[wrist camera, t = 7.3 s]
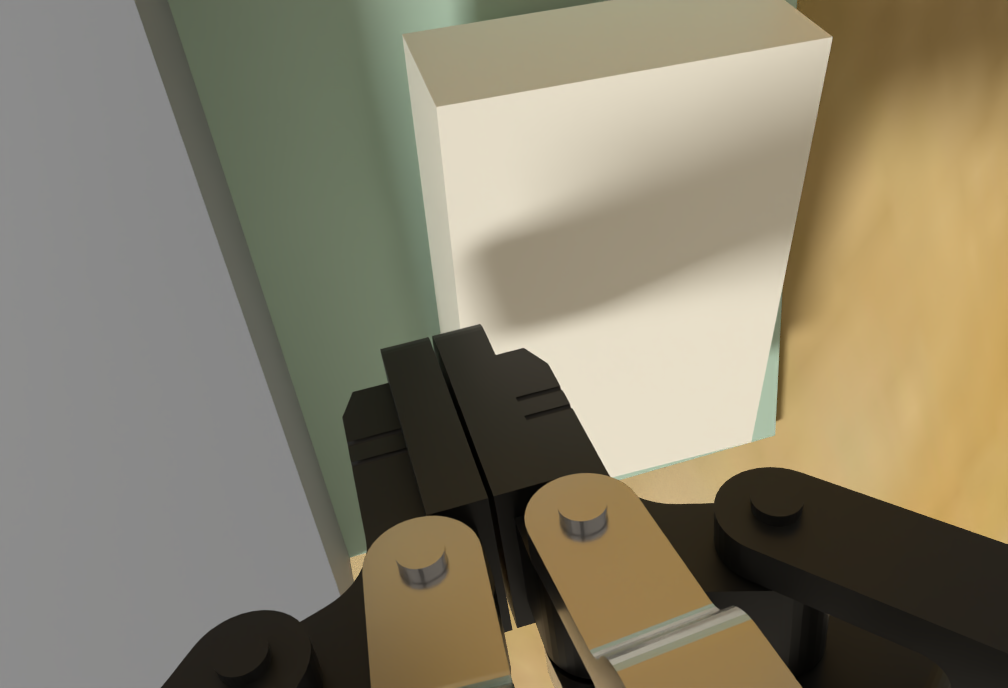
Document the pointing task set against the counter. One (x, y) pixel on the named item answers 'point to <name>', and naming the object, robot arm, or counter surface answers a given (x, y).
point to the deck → (135, 368)
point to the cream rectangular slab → (622, 202)
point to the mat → (338, 190)
